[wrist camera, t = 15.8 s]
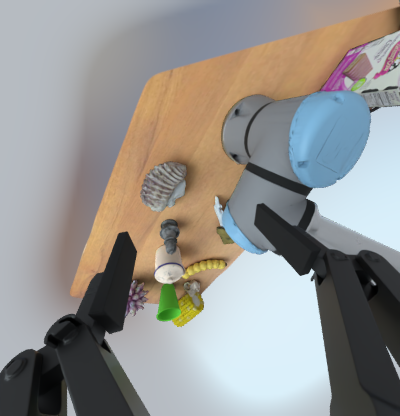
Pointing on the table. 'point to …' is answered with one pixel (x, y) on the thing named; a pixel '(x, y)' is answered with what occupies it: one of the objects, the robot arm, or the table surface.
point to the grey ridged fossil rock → (164, 185)
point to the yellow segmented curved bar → (203, 267)
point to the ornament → (192, 287)
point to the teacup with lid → (168, 266)
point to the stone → (224, 236)
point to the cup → (168, 304)
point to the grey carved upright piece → (169, 235)
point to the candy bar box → (371, 72)
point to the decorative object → (218, 210)
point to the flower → (136, 298)
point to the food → (189, 308)
